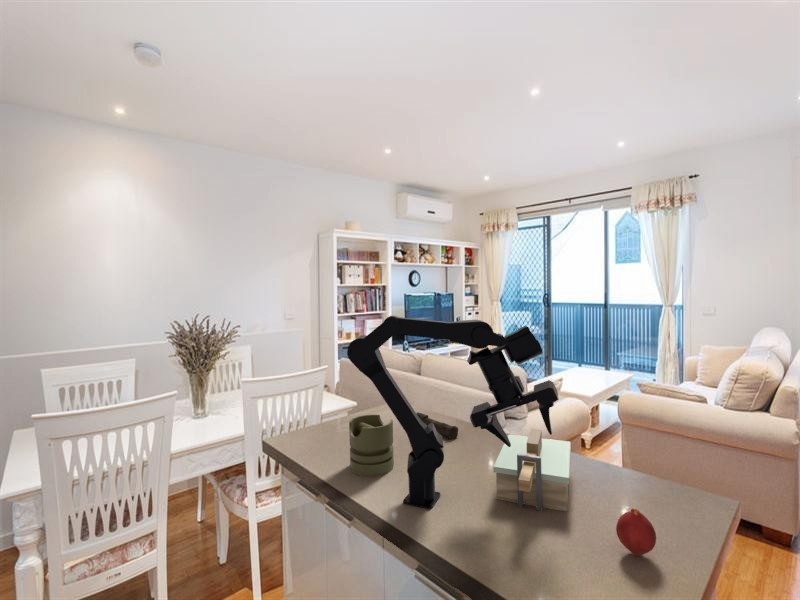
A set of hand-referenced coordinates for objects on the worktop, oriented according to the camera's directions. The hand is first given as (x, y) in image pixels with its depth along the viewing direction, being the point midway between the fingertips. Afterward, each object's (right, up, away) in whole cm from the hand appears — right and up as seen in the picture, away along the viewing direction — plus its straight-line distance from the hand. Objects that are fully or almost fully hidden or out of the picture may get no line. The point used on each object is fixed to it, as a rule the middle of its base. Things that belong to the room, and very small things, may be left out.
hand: (530, 440), depth 86 cm
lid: (+3, -8, +7) cm, 11 cm away
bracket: (-1, -13, -3) cm, 13 cm away
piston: (-35, -14, +19) cm, 42 cm away
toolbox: (+4, -13, +7) cm, 15 cm away
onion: (+12, -13, -18) cm, 25 cm away
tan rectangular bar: (-2, -5, -5) cm, 7 cm away
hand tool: (-17, -13, +45) cm, 50 cm away
